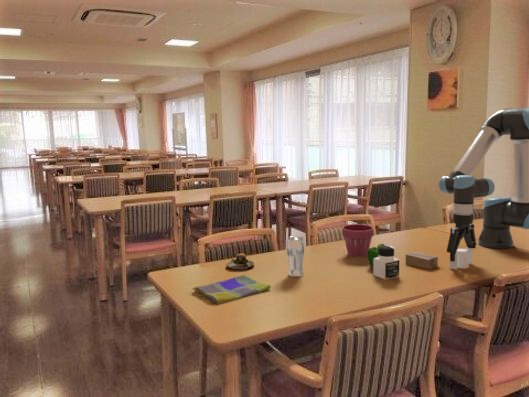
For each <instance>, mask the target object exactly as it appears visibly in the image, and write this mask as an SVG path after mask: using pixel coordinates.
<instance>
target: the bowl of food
mask: <svg viewBox="0 0 529 397" xmlns="http://www.w3.org/2000/svg"><path fill="white" fill-rule="evenodd" d="M241 250H242V251H241V253H238V254H236V255H235V256H236V257H235V258H232V259H231V260H230V261H229V262H227V263H226V267H228V268H230V269H232V270H233V269H234V270H245V269H250V270H252V269H254V267H255V265H254V264H255V263H254V262H253V261H252V260H249V259H247V255H246V254H245V253H243V252H244V251H243V250H244V249H241Z"/></svg>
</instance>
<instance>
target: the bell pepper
mask: <svg viewBox="0 0 529 397" xmlns="http://www.w3.org/2000/svg"><path fill="white" fill-rule="evenodd" d="M384 245H385V244H384V243H379V244H378V245H377V246H372V247H369V249H368V255H367V260H368V264H369V266H370V267H372V268H373V259H374V258H377V257H378V248H379V247H380V246H384Z"/></svg>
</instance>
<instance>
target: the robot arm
mask: <svg viewBox="0 0 529 397" xmlns="http://www.w3.org/2000/svg"><path fill="white" fill-rule="evenodd" d="M477 133H478V134H477V135H476V136H475V138H474V139H473V140H472V142H471V144H470V145H469V147H468V148H467V149H466V151H465V152H464V153H463V155H462V157H461V159H459V160H458V163H457V164H456V166H455V167H454V168H453V169H452V172H450V174H449V175H443V176H442V177H440V179H439V181H438V188H439V190H440V191H441V192H442V193H444V194H445V193H446V194H450V195H451V194H453V205H452V206H453V207H452V208H453V210H452V212H453V214H452V223H453V224H455V226H454V227H450V229H449V230H450V231H449V232H450V233H449V239H448V241H447V242H448V243H447V247H446V253H447V254H448V253H449V269H452V270H456V271H457V269H458V268H457V253H456V252H457V249H458V248H459V245H460V243H461V240H463V239H464V242H465V245H466V247H465V249H469V250H471V253H470V260H469V265H472V264H473V258H474V257H473V255H474V254H473V253H474V252H473V251H474V249H476V246H477V243H478V245H479V246H482V247H485V248H489V249H490V248H491V249H510V248H513V247H514V239H513V236H512V233H511V227H514V228H519V229H524V230H529V106H527V107H515V108H514V107H513V108H501V109H500V110H498V111H496V112H495V113H493V114H491V115H490V116H489V117H488V118H486V120H485V121H484V122H483V123H481V125H480V126H479V128H478V131H477ZM505 135H507V136H508V135H509V139H510V141H511V142H512V143H513V161H514V162H513V166H514V167H513V170H514V173H513V174H514V176H513V177H514V178H513V179H514V180H513V182H514V196H512V197H511V196H509V197H508V196H498V197H490V198H486V197H488V196H491V195H492V194H493V193H494V191H495V190H496V189H495V188H496V187H495V185H496V184H495V183H494V181H493V180H492V179H490V178H489V177H486V178H484V177H481V178H477V177H476V178H475V176H474V175H473V174H474V172H475V170H476V169H477V167H478V166H479V164H480V163H481V162H482V160H483V158H484V157H485V155H486V154H487V153H488V151H489V150H490V148H491V147H492V146H493V145H494V143H495V142H497V141H498V140H499V139H500V138H501V137H503V136H505ZM481 197H484V198H486V199H485V200H484V202H483V207H482V208H483V210H482V211H483V218H482V228H481V232H480V234H479V237H478V242H477V239H476V234H475V233H476V232H475V224H474V223H473V222H474V215H473V214H474V199H476V198H481Z"/></svg>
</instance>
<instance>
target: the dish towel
mask: <svg viewBox="0 0 529 397" xmlns="http://www.w3.org/2000/svg"><path fill="white" fill-rule="evenodd" d="M269 289H271V285H270V284H267V283H260V282H258V281H256V280H254V279H253V278H251V277H249V276H248V275H246V274H244V275H240V276H235V277H232V278H229V279H225V280H221V281H217V282H214V283H209V284H207V285H206V284H205V285H200V286H199V285H198V286H194V287H192V290H194V292H196V293H198V294H199V295H200V296H202V297H203V298H205V299H206V300H207V301H208V302H210V303H212V305H220V304H224V303H229V302H233V301H236V300H239V299H244V298H247V297H250V296H254V295H257V294H260V293H263V292H265V291H267V290H269Z"/></svg>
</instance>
